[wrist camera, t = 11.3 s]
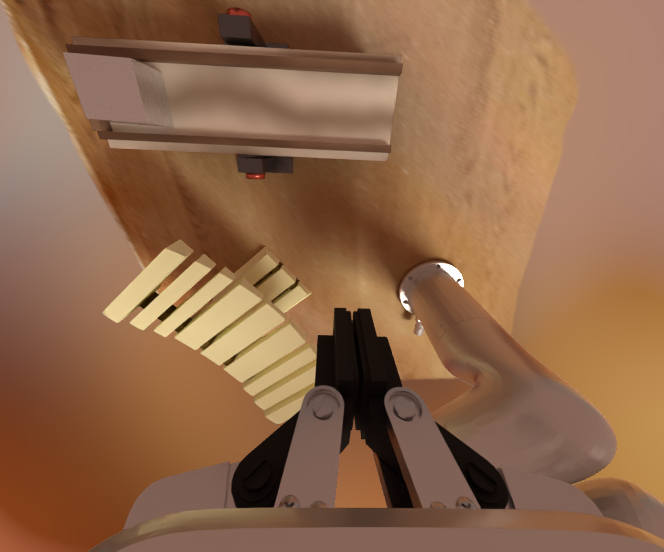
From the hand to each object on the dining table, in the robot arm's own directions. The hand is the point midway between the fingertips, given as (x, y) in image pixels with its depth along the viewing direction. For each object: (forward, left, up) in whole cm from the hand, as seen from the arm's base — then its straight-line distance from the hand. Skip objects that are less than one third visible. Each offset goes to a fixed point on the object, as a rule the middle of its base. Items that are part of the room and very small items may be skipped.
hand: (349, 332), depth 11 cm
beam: (+12, +11, -28) cm, 32 cm away
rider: (+12, +23, -24) cm, 35 cm away
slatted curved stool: (-18, +14, -32) cm, 40 cm away
